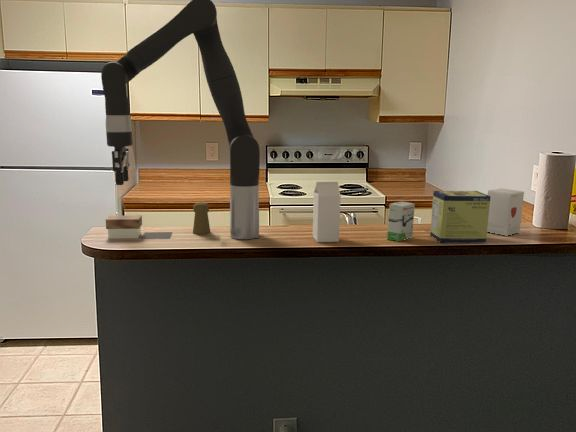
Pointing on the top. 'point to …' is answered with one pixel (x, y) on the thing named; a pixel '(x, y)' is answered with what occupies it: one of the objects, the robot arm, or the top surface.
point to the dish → (124, 233)
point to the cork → (201, 219)
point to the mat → (157, 235)
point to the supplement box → (505, 211)
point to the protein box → (460, 216)
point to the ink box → (400, 221)
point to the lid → (124, 222)
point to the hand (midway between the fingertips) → (122, 183)
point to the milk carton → (326, 212)
